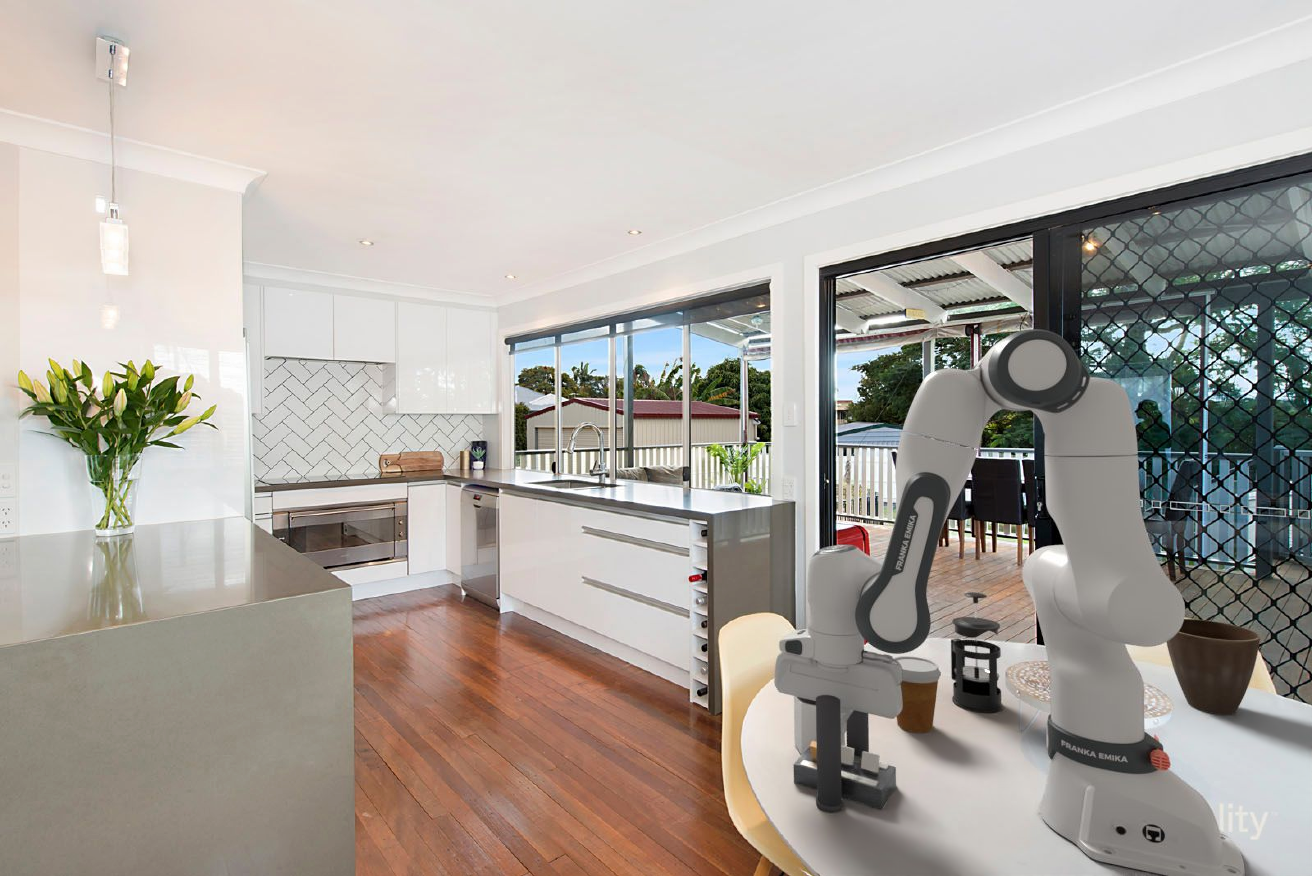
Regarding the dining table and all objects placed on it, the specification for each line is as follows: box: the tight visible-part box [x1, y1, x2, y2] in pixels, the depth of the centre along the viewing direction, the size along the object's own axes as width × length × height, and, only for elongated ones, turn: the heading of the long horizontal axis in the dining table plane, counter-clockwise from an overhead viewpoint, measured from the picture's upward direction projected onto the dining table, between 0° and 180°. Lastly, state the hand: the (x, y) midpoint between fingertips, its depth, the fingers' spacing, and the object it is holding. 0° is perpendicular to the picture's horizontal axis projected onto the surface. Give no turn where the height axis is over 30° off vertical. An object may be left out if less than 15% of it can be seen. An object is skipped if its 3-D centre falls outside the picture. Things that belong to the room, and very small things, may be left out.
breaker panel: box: [793, 747, 897, 811], centre depth 102 cm, size 14×8×3 cm, turn 55°
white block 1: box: [841, 745, 854, 765], centre depth 103 cm, size 2×1×2 cm, turn 55°
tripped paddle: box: [810, 741, 817, 759], centre depth 104 cm, size 2×1×2 cm, turn 55°
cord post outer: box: [815, 695, 844, 814], centre depth 97 cm, size 4×4×16 cm
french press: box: [950, 591, 1004, 714], centre depth 133 cm, size 12×9×23 cm
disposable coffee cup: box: [892, 655, 942, 734], centre depth 123 cm, size 10×10×12 cm
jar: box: [793, 696, 846, 756], centre depth 114 cm, size 9×8×12 cm
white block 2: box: [861, 751, 880, 772], centre depth 101 cm, size 2×1×2 cm, turn 55°
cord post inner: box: [845, 710, 870, 757], centre depth 108 cm, size 4×4×16 cm
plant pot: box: [1166, 618, 1261, 716], centre depth 129 cm, size 15×15×16 cm
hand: (836, 730), depth 103 cm, fingers closed
